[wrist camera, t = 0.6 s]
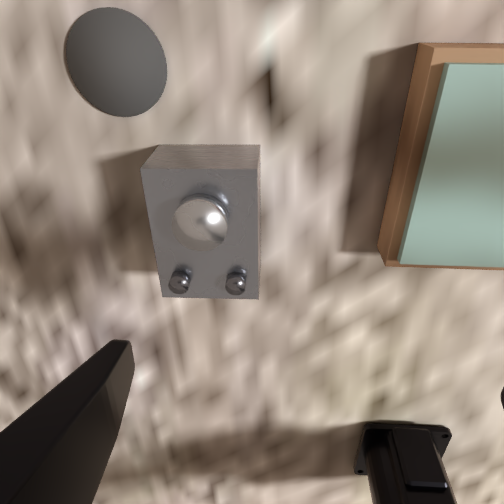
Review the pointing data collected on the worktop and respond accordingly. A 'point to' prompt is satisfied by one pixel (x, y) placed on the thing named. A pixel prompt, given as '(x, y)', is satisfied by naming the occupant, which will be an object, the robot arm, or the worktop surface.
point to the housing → (205, 219)
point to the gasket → (116, 61)
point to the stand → (449, 163)
